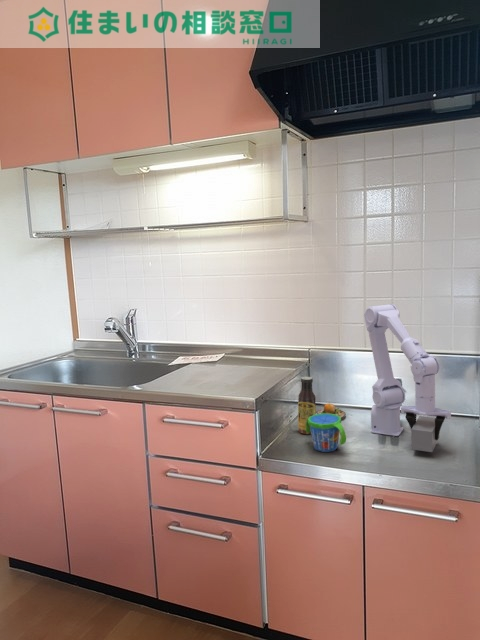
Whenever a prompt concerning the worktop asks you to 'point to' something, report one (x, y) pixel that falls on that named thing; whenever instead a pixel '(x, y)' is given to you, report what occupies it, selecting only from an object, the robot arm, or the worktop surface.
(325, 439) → the snack cup
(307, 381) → the sauce bottle
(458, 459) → the worktop surface
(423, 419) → the grey rectangular block
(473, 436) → the worktop surface
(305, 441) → the worktop surface
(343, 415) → the fruit bowl
